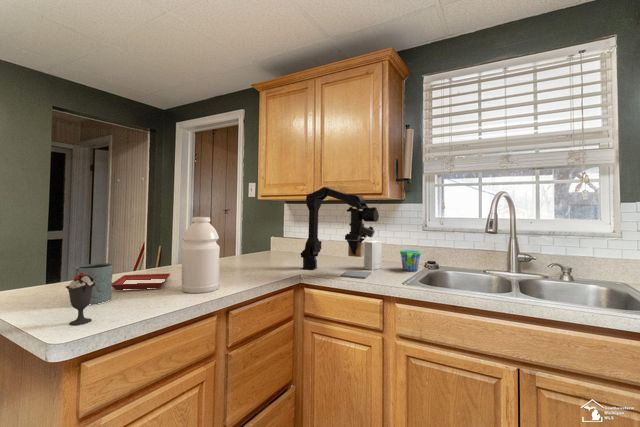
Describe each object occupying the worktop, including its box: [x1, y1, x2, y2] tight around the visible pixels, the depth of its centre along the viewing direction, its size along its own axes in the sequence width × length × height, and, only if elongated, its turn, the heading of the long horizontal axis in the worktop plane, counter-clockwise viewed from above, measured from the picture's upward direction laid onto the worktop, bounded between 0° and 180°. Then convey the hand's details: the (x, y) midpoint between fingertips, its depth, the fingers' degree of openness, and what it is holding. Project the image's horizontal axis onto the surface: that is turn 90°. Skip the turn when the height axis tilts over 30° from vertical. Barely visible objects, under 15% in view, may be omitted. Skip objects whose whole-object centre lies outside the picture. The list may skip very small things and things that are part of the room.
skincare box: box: [363, 240, 383, 271], centre depth 167 cm, size 8×6×15 cm
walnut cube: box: [348, 242, 364, 258], centre depth 150 cm, size 6×6×6 cm
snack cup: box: [399, 249, 422, 272], centre depth 164 cm, size 16×10×10 cm
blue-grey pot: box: [75, 262, 114, 305], centre depth 104 cm, size 10×10×12 cm
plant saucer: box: [111, 273, 171, 291], centre depth 126 cm, size 18×18×3 cm
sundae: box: [65, 268, 96, 326], centre depth 85 cm, size 7×7×15 cm
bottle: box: [180, 216, 221, 294], centre depth 122 cm, size 14×14×28 cm
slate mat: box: [339, 270, 372, 280], centre depth 150 cm, size 12×12×1 cm
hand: (356, 253), depth 150 cm, fingers closed on walnut cube, 6 cm apart
